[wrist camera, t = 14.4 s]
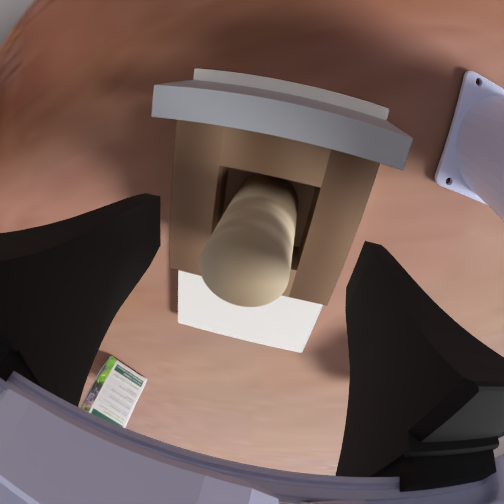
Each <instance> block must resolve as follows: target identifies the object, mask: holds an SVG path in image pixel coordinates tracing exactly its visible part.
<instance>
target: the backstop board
mask: <svg viewBox="0 0 504 504" xmlns="http://www.w3.org/2000/svg"><path fill="white" fill-rule="evenodd" d="M388 113H389V109H388V108H386V107H383V106H380V105H377V104H374V103H371V102H368V101H365V100H361V99H358V98H355V97H351V96H348V95H344V94H340V93H337V92H333V91H329V90H325V89H321V88H317V87H313V86H308V85H304V84H299V83H295V82H290V81H285V80H280V79H274V78H269V77H263V76H257V75H251V74H244V73H237V72H229V71H220V70H211V69H200V68H197V69H195V70H194V77H193V80H186V81H178V82H170V83H163V84H156V85H154V91H153V102H152V115H151V117H159V118H168V119H177V120H185V121H192V122H200V123H207V124H213V125H220V126H226V127H232V128H238V129H243V130H249V131H254V132H259V133H264V134H269V135H274V136H279V137H283V138H288V139H292V140H297V141H301V142H305V143H309V144H313V145H318V146H321V147H325V148H329V149H333V150H337V151H340V152H344V153H348V154H351V155H355V156H358V157H362V158H365V159H368V160H372V161H375V162H378V163H381V164H385V165H388V166H391V167H394V168H397V169H400V170H403V169H404V166H405V163H406V160H407V157H408V153H409V150H410V147H411V144H412V141H413V138H412V137H410V136H409V135H407V134H406V133H405V132H403V131H402V130H400V129H399V128H397V127H396V126H394V125H393V124H391V123H390V122H388V121H387V117H388ZM322 306H323V305H322V304H317V303H313V302H308V301H304V300H299V299H295V298H291V297H286V296H282V295H281V296H280V297H279V298H278V299H276V300H275V301H273V302H271V303H269V304H266V305H263V306H259V307H242V306H237V305H234V304H231V303H228V302H226V301H224V300H222V299H221V298H219V297H218V296H216V295H215V294H214V293H213V292H212V291H211V290H210V289H209V288H208V287H207V285H206V284H205V282H204V281H203V278H202V276H199V275H195V274H191V273H187V272H183V271H180V270H179V272H178V323H181V324H185V325H188V326H192V327H196V328H199V329H203V330H207V331H210V332H214V333H218V334H222V335H226V336H230V337H234V338H238V339H242V340H246V341H250V342H254V343H259V344H263V345H267V346H272V347H276V348H281V349H286V350H291V351H295V352H300V353H302V351H303V349H304V347H305V345H306V343H307V340H308V338H309V336H310V334H311V331H312V329H313V327H314V324H315V322H316V320H317V317H318V315H319V313H320V310H321V308H322Z"/></svg>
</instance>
